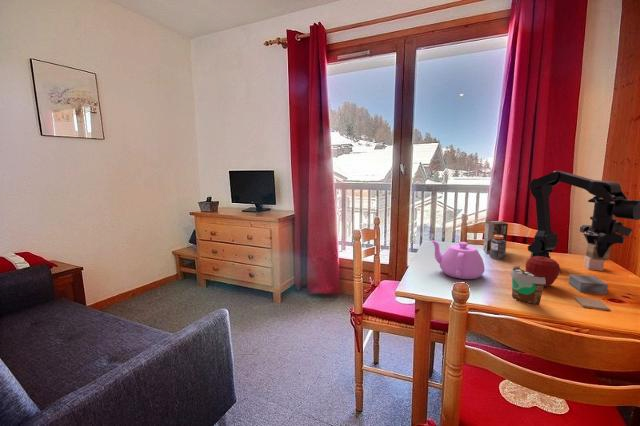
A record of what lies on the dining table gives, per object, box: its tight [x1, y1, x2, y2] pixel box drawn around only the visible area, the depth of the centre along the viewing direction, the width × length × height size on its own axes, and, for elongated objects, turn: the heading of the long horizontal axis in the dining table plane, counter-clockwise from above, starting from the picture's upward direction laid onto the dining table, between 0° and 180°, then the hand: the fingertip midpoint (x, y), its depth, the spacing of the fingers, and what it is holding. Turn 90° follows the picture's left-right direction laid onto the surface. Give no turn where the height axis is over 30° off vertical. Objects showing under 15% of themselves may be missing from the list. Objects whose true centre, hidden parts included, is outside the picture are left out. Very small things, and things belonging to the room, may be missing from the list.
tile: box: [573, 296, 611, 311], centre depth 101 cm, size 7×7×1 cm
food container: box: [509, 265, 546, 306], centre depth 104 cm, size 12×6×10 cm, turn 5°
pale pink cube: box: [583, 254, 605, 272], centre depth 134 cm, size 5×5×5 cm
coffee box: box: [482, 220, 509, 255], centre depth 158 cm, size 9×6×16 cm
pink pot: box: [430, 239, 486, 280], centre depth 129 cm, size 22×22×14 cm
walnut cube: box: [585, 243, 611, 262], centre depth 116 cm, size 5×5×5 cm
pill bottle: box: [489, 235, 505, 260], centre depth 149 cm, size 6×6×11 cm
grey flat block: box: [568, 274, 609, 295], centre depth 113 cm, size 8×8×4 cm
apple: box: [525, 256, 561, 288], centre depth 116 cm, size 11×11×12 cm
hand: (597, 255), depth 117 cm, fingers closed on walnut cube, 5 cm apart
